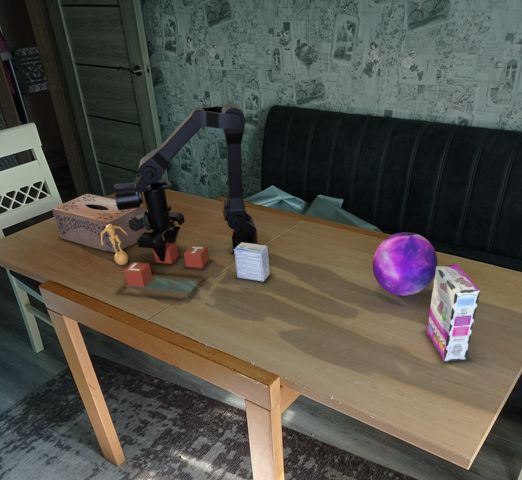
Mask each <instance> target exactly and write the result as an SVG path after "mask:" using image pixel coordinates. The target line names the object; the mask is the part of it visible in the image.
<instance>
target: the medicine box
mask: <svg viewBox="0 0 522 480" xmlns="http://www.w3.org/2000/svg"><path fill="white" fill-rule="evenodd" d="M258 244H259V243H258ZM258 244H251V243H243V242H242V243H240V244H239V245H238V246H237V247H236V248H235V249H233V251H234V252H235V254H234V259H235V260H234V261H235V268H236V277H237V278H238V279H245V280H251V281H257V282H258V281H259V282H263V283H264V282H265V280H266V279H267V278H268V277H269V276H270V275H271V271H270V270H271V269H270V261H269V260H270V259H269V247H268V245H264V244H260V245H258Z"/></svg>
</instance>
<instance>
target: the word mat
mask: <svg viewBox="0 0 522 480" xmlns="http://www.w3.org/2000/svg"><path fill="white" fill-rule="evenodd" d="M151 282H152V283H151ZM198 283H199V281H195V280H184V279H178V280H177V279H175V278H174V279H173V278H163V277H156V278H155V277H153V276H152V279H151V280H150V281H149V282H148V283H147V285H146V286H145V287H138V286H128V285H127V284H126V285H125V287H127V288H139V289H149V290H157V291H158V290H159V291H168V290H169V291H170V292H178V293H179V292H180V293H189V294H190V293H191V292H192V291H193V289H194V288H195V287H196V285H198ZM148 285H149V286H148ZM172 285H173V286H172Z"/></svg>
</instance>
